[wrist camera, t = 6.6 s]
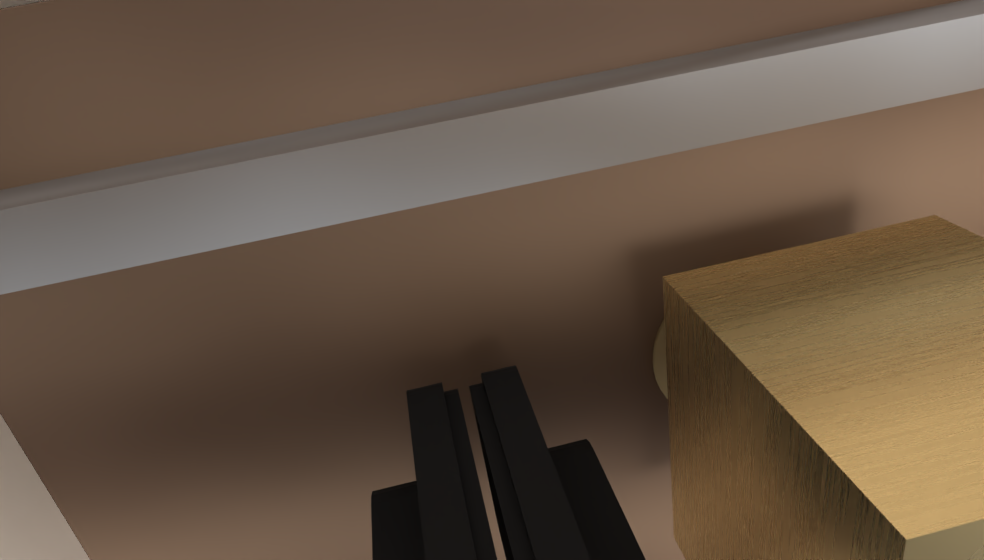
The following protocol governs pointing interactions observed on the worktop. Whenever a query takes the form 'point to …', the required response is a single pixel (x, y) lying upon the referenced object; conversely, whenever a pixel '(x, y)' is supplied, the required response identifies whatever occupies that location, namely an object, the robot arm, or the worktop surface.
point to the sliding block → (831, 399)
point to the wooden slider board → (416, 230)
